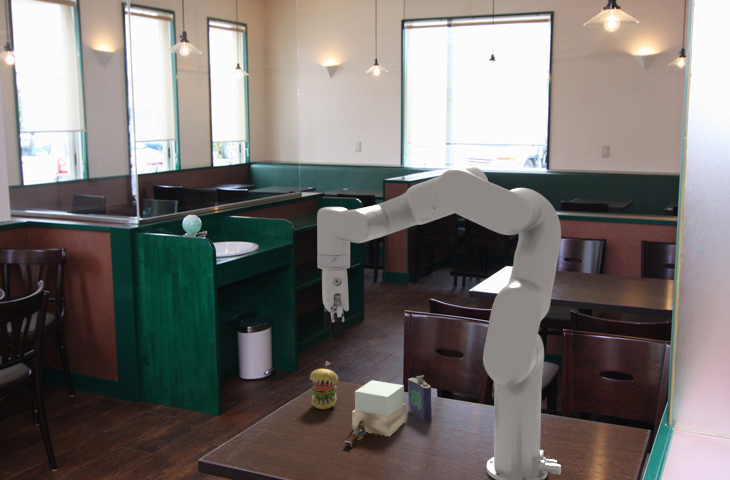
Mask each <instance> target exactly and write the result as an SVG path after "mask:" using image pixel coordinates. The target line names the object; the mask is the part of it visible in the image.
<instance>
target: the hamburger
mask: <svg viewBox="0 0 730 480" xmlns="http://www.w3.org/2000/svg"><path fill="white" fill-rule="evenodd" d="M329 365H331V362H329V361H327V360H326V361H325V368H317V369H314V370H313V371H312V372H311V373H310V375H309V380H310V381H312V383H313V385H312V387H311V391H312V392H311V394H312V397H311V404H312V405H313V407H315V408H316V409H318V410H327V409H328V410H329V409H330V408H332V407H333V406H334V405H335V404H336V402H337V400H338V399H337V393H338V392H337V390H336V389H338V387H337V385H336V383H337V384H338V381H339V376H338V374H336V372H335V371H333V370H331V369H328V368H326V367H327V366H329Z"/></svg>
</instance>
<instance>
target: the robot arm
mask: <svg viewBox="0 0 730 480" xmlns="http://www.w3.org/2000/svg"><path fill="white" fill-rule="evenodd" d="M488 179H489V178H488V177H487V175H486V174H485V173H484V172H483V170H481V169H480V168H477V167H475V166H471V165H470V166H469V165H466V166H458V167H457V166H456V167H453V168H450V169H448V170H446V171H444V172H443V173H442V174H440V175H439V176H436V177H433V178H431V179H427V180H425V181H422V182H420V183H416V184H414V185H411V186H410V187H409V188H407V190H406V191H405V192H404V193H403V194H400V195H399V196H396V197H393V198H391V199H388V200H386V201H383V202H381V203H377V204H373V205H370V206H366V207H361V208H360V207H359V208H356V209H348V208H345V207H343V206H326V207H325V206H324V207H322V208H320V209H318V211H317V213H316V214H317V216H316V222H317V224H316V227H317V229H316V231H317V235H316V236H317V238H316V239H317V240H316V243H317V247H316V249H317V258H316V259H317V269H321V270H322V271H321V278H322V279H321V281H322V282H321V286H322V287H321V290H322V291H321V292H322V304H323V306H324V310H323V327H324V328H325V329H329V330H330V333H329V335H330V336H329V337H330V340H343V339H345V333H346V332H345V327H346V326H345V325H346V324H345V316H344V315H345V314H344V311H345V312H348V311H349V309H350V306H349V305H350V304H349V303H350V302H349V284H348V283H349V281H348V280H349V278H348V271H347V269H350V267H351V243H356V244H361V243H366V242H370V241H371V240H375V239H380V238H382V237H385V236H387V235H391V234H394V233H396V232H399V231H402V230H404V229H409V228H410V227H413V226H418V225H424V224H427V223H431V222H434V221H435V220H439V219H441V218H445V217H448V216H450V215H453V214H456V215H458V216H461V217H462V218H465V219H467V220H469V221H471V222H473V223H476V224H477V225H480V226H482V227H484V228H486V229H488V230H490V231H493V232H496V233H498V234H500V235H506V236H513V235H517V234H518V240H517V246H516V249H515V252H514V256H513V264H512V268H511V273H510V276H509V280H508V283H507V284H506V285H505V286H504V287H503V288H502V289H501V290H500V291H499V292H498V293H497V294H496V296H495V298H494V301H493V304H492V307H491V311H490V314H489V315H490V316H489V321H488V327H487V330H486V331H487V332H486V338H485V343H484V347H483V348H484V349H483V355H482V358H483V359H482V360H483V367H484V370H485V372H486V373H487V375H488V377H490V379H491V380H492V381H494V399H493V400H494V401H493V402H494V403H493V404H494V405H493V408H494V409H493V410H494V411H493V425H494V426H493V457H491V458H490V459H489V460H487V462H486V467H485V468H486V472H487V474H488V475H489V477H491V478H492V479H494V480H546V478H547V476H548V473H550V474H554V475H561V473H562V465H561V464H558V460H557V459H553V458H550V459H549V458H547V457H546V456H544V452H545V451H544V450H543V449H541V423H542V422H541V420H542V417H541V415H542V413H541V412H542V408H541V407H542V383H543V370H544V360H545V347H544V343H543V342H544V341H543V340H542V337H541V335H540V334H539V330H540V325H541V322H542V320H543V319H544V318H545V317H546V316H547V314H548V313H549V310H550V307H551V303H552V302H551V301H552V294H553V288H554V284H555V278H556V273H557V265H558V261H559V256H560V248H561V241H562V230H561V227H562V226H561V221H560V218H559V215H558V214H557V211H556V209H555V207H554V206H553V205H552V203H551V201H549V200H548V199H547V198H546V197H544V196H543V194H541V193H540V192H537V191H536V190H533V189H531V188H526V187H516V188H512V189H510V190H509V189H507V188H504V187H502V186H501V185H498V184H495V183H493V182H490V181H489V180H488Z"/></svg>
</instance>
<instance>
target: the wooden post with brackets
mask: <svg viewBox="0 0 730 480" xmlns="http://www.w3.org/2000/svg"><path fill="white" fill-rule="evenodd" d="M364 424H365V420H360V422H359V424H358V426H357V428H355V430H353V432H351V433H352V434H351V436H349V438H348V439H347V440H344V441H343V443H344V446H350V447H353V443H354V440H355V439H356V441H357V440H360V441H362V440H361V439H364V436H367V434H368V433H366V430H365V428H364ZM360 430H362V432H361V431H360ZM350 447H349V448H350Z"/></svg>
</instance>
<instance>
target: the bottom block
mask: <svg viewBox="0 0 730 480" xmlns="http://www.w3.org/2000/svg"><path fill="white" fill-rule="evenodd" d="M406 405H407V404H406V403H404V405H403V406H401V407H400V408H399V409H398V410H396V411H395V412H394V413H393V414H391V415H390V416H389V417H385V416H380V415H375V414H370V413H364V412H359V411H355V409H354V410H352V411H351V414H352V415H351V420H352V421H351V422H352V423H351V425H352V426H351V427H352V429H353V430H352V429H351V430H352V431H354V430H355V428H357V426H358V424H359V422H360V420H365V424H364V428H365V430H366V432H368V433H367V434H372V433H374V434H373V435H377V434H379V435H378V436H383V435H384V436H385V437H388V436H389V437H391V436H392V435H393V434H394V433H395V432H396V431H398V430H399V429H400V428H399V427H400V426H401V425H402V424H403V423H404V424H405V423H406V421H407V420H406V419H407V415H406V414H407V413H406V412H407V411H406V410H407V409H406V408H407V407H406ZM404 424H403V425H404ZM403 425H402V426H403ZM402 426H401V427H402ZM361 431H362V430H360V432H361Z"/></svg>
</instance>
